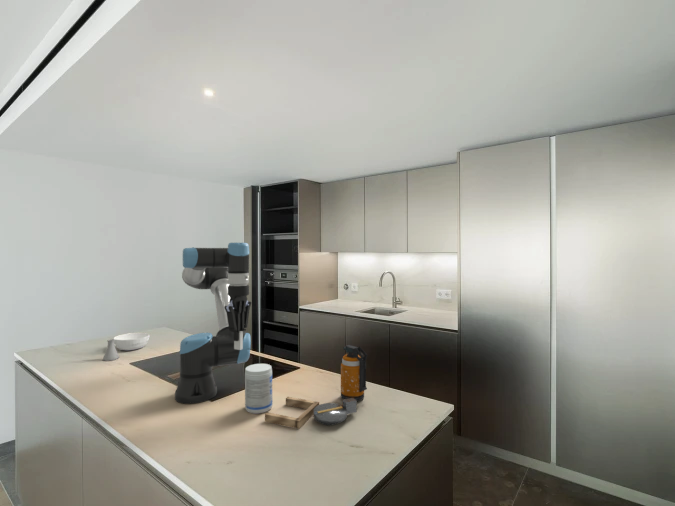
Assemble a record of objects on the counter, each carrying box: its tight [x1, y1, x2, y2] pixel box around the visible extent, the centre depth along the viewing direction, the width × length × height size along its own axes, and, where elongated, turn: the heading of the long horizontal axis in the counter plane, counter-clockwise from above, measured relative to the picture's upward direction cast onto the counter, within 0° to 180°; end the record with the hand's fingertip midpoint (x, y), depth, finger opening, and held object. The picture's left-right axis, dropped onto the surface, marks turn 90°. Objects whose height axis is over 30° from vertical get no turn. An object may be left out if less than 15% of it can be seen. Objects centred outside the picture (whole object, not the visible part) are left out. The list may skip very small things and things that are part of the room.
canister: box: [340, 344, 368, 402], centre depth 133 cm, size 9×11×20 cm
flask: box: [102, 338, 120, 362], centre depth 182 cm, size 7×7×10 cm
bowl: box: [112, 332, 151, 351], centre depth 202 cm, size 18×18×7 cm
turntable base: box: [321, 423, 339, 426], centre depth 116 cm, size 7×7×1 cm
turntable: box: [313, 398, 357, 425], centre depth 117 cm, size 15×11×4 cm
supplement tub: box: [244, 363, 273, 414], centre depth 125 cm, size 10×10×15 cm
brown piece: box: [264, 396, 320, 430], centre depth 120 cm, size 13×15×2 cm
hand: (238, 348), depth 128 cm, fingers closed
